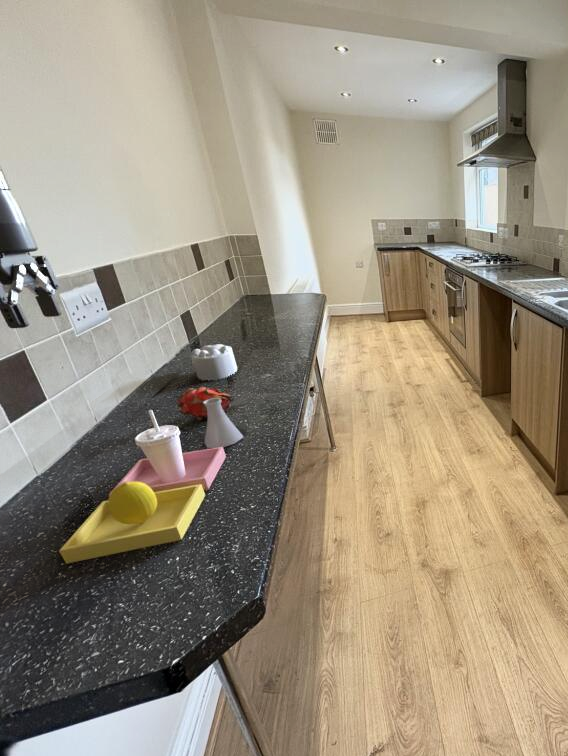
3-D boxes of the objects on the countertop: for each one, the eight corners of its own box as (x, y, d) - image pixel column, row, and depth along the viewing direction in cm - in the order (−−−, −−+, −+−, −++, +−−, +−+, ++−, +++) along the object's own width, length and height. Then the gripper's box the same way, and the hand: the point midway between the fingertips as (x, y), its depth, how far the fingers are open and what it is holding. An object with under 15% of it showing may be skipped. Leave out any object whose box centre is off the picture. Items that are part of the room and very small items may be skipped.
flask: (197, 445, 90) (183, 404, 87) (230, 430, 96) (218, 391, 93) (218, 452, 87) (204, 410, 84) (250, 437, 94) (239, 397, 90)
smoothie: (199, 465, 82) (177, 402, 77) (187, 483, 77) (162, 417, 71) (161, 471, 80) (135, 407, 75) (145, 490, 75) (117, 422, 69)
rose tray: (113, 506, 71) (108, 494, 70) (143, 470, 82) (139, 459, 81) (208, 489, 76) (204, 478, 75) (226, 456, 86) (222, 446, 85)
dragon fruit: (181, 423, 103) (237, 422, 107) (166, 417, 95) (227, 416, 99) (185, 391, 105) (239, 391, 109) (171, 382, 97) (230, 383, 101)
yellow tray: (66, 563, 60) (58, 550, 59) (108, 513, 70) (102, 501, 69) (181, 539, 64) (176, 527, 63) (205, 495, 74) (201, 483, 73)
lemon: (140, 511, 69) (123, 472, 66) (172, 512, 69) (156, 472, 66) (109, 535, 64) (89, 493, 61) (144, 535, 64) (125, 494, 61)
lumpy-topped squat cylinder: (238, 364, 139) (231, 340, 135) (234, 377, 128) (226, 351, 125) (201, 369, 134) (193, 344, 131) (194, 383, 124) (185, 356, 120)
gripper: (-6, 220, 70) (37, 314, 76) (-84, 222, 57) (-26, 334, 63) (51, 220, 72) (88, 311, 78) (-13, 221, 60) (37, 329, 66)
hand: (37, 321), depth 71 cm, fingers open, 8 cm apart
